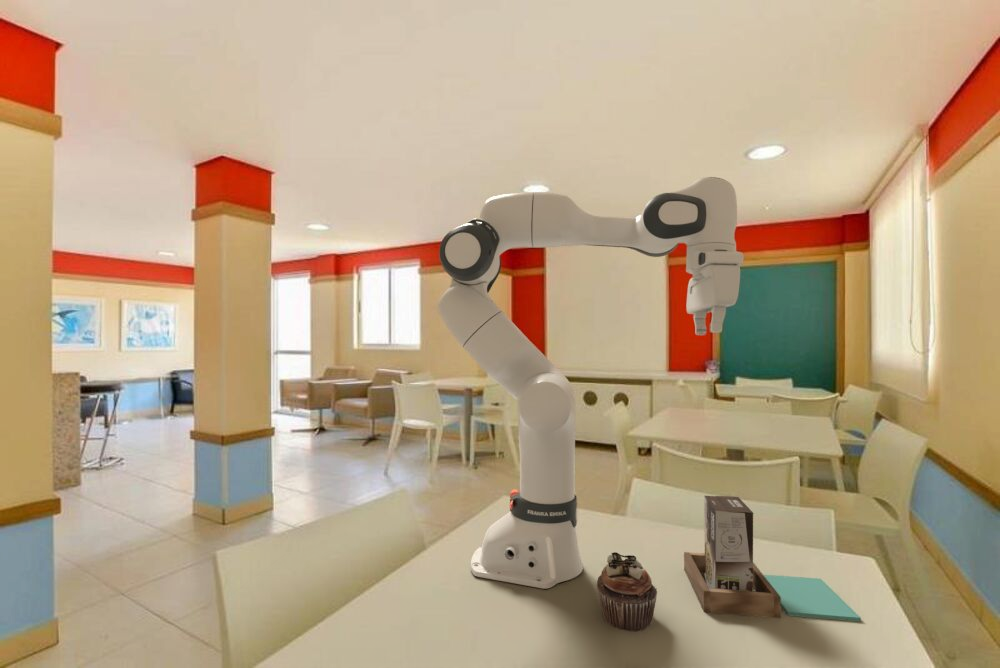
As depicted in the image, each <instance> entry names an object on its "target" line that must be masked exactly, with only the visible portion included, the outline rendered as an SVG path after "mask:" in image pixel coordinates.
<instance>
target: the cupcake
mask: <svg viewBox="0 0 1000 668" xmlns="http://www.w3.org/2000/svg"><path fill="white" fill-rule="evenodd" d="M622 558H625V559H622ZM606 562H607V564H606V565H605V566H603V569H602V570H601V574H600V575H599V576H598V577H597V581H596V589H597V592H598V597H599V600H600V605H601V611H602V616H603V619H604V620H605V622H606V621H607V624H608V625H610V626H612V627H613V628H616V629H618V630H622V631H628V632H639V631H643V630H645V629H647V628H649V627H650V626H651V624H652V622H653V618H654V611H655V608H656V603H657V596H658V590H657V588H656V586H655V585H654V584H653V582H652V578H651V576H650V574H649V573H648V571H647V570H646V569H645V568H644V567H643V566H642V564H641V562H639V561H638V560H637V557H636V556H635V555H629V554H628V555H623V554H620V553H619V552H615V551H614V552H611V553H610V554H609V555H608V556H607V559H606Z"/></svg>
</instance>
